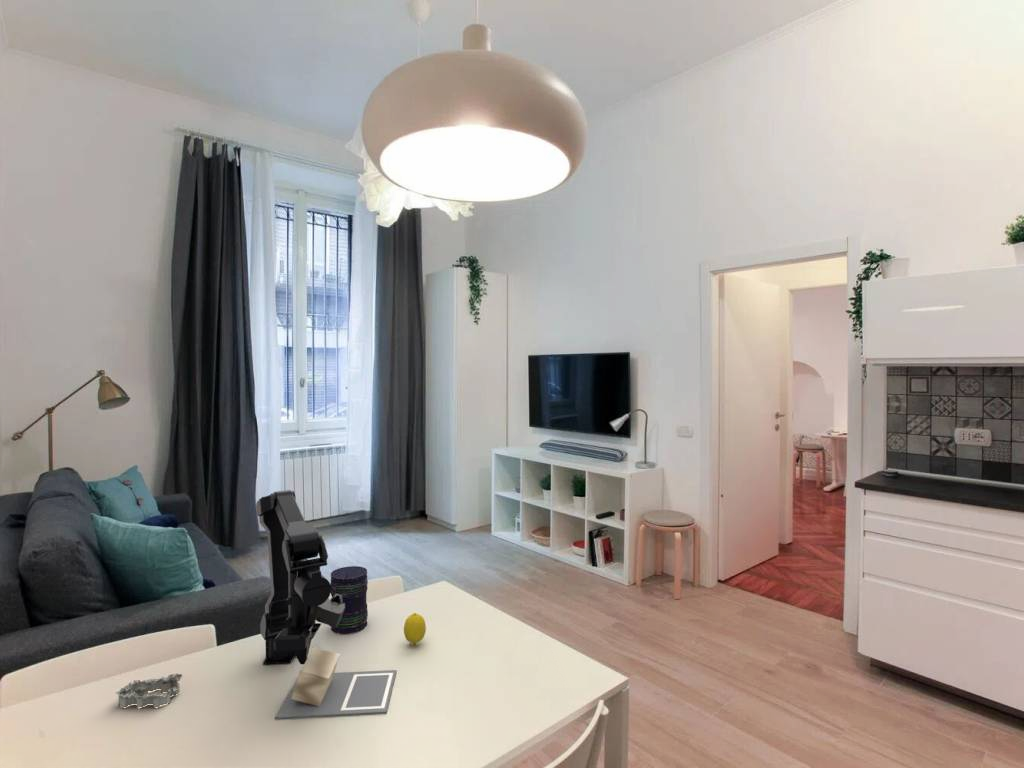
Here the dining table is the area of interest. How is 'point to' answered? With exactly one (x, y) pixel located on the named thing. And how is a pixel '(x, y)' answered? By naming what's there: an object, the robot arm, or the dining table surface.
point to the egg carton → (143, 687)
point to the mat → (345, 696)
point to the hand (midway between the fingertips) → (303, 663)
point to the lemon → (414, 628)
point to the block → (315, 676)
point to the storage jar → (351, 598)
